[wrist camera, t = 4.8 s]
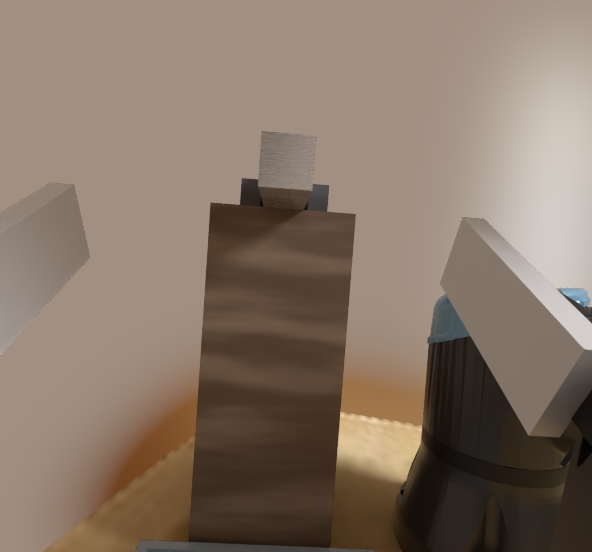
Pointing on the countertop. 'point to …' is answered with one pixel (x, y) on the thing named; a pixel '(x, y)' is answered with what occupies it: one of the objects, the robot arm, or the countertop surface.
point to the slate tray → (228, 547)
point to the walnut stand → (271, 372)
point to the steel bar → (286, 169)
